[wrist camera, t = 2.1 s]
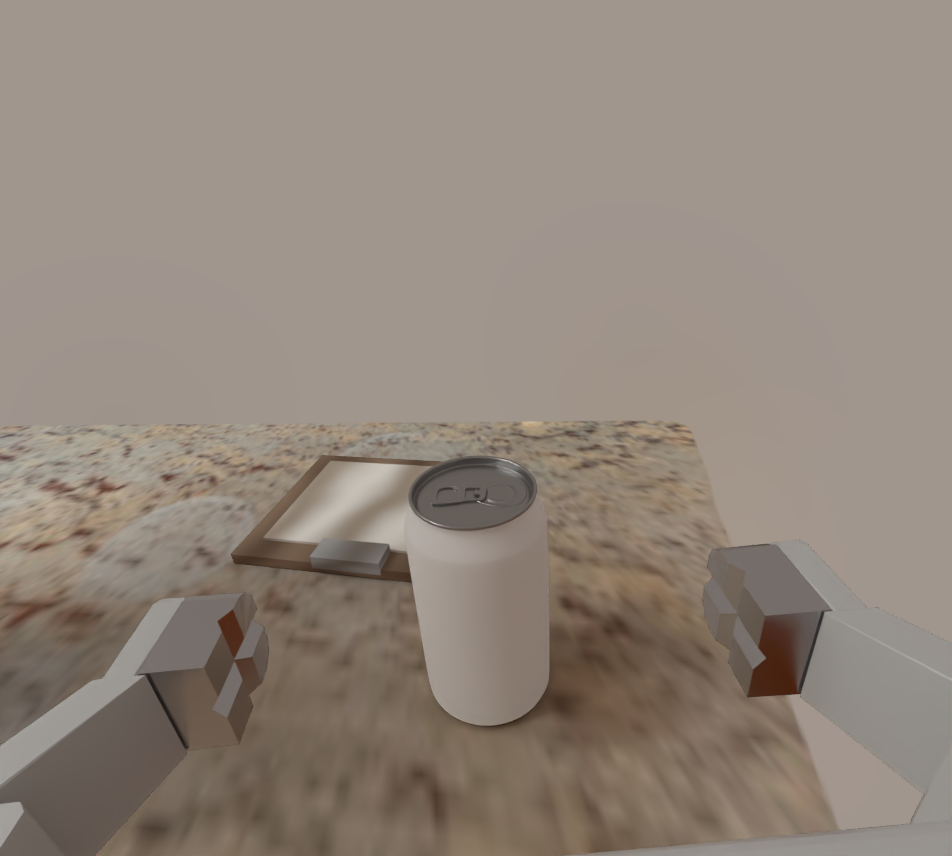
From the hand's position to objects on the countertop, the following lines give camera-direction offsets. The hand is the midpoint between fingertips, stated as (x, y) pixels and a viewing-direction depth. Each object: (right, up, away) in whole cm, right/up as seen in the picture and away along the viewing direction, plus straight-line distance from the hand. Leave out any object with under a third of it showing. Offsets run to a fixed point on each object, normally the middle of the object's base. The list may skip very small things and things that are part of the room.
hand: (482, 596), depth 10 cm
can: (+1, -10, +19) cm, 22 cm away
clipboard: (-7, -4, +33) cm, 34 cm away
